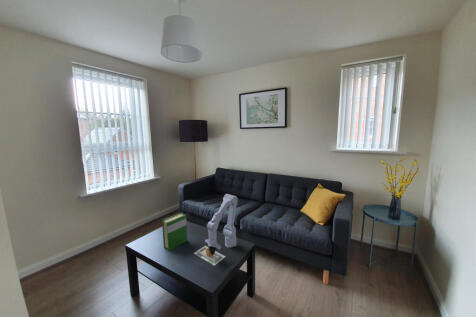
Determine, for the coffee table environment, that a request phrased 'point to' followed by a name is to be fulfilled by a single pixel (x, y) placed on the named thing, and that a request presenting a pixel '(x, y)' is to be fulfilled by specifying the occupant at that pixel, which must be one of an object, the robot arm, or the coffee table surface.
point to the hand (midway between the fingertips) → (212, 254)
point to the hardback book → (174, 231)
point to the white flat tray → (211, 259)
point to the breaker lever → (208, 252)
